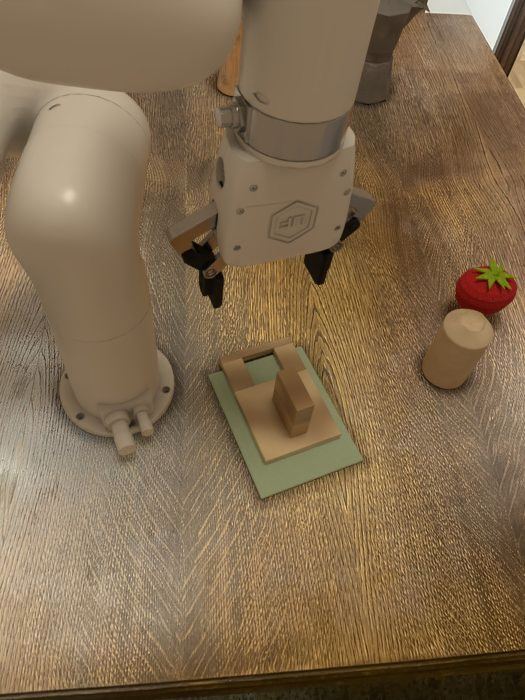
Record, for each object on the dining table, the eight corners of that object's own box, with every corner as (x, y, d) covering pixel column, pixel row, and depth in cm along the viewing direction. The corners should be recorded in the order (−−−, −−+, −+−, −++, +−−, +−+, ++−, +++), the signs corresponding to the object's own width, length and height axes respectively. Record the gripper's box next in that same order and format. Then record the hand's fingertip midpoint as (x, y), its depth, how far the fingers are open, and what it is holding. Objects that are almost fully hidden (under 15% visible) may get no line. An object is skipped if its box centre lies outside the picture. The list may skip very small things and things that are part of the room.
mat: (362, 461, 66) (363, 459, 65) (261, 500, 62) (261, 498, 62) (301, 347, 74) (301, 345, 73) (207, 376, 70) (207, 374, 70)
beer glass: (262, 84, 105) (269, -7, 92) (240, 103, 101) (244, 10, 89) (229, 70, 106) (232, -21, 94) (206, 88, 103) (205, -5, 91)
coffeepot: (396, 76, 110) (425, -32, 95) (404, 107, 104) (437, -2, 90) (312, 72, 108) (328, -38, 94) (316, 103, 103) (334, -9, 88)
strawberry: (436, 299, 80) (462, 245, 71) (490, 297, 81) (522, 243, 72) (449, 335, 76) (477, 283, 68) (505, 333, 77) (540, 281, 69)
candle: (456, 397, 71) (488, 349, 63) (414, 375, 72) (440, 325, 64) (472, 365, 74) (505, 315, 66) (431, 344, 75) (459, 292, 67)
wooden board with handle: (218, 361, 71) (219, 326, 65) (288, 340, 74) (294, 304, 68) (265, 465, 64) (270, 435, 58) (340, 438, 67) (352, 406, 61)
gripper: (181, 170, 35) (182, 339, 49) (432, 131, 40) (368, 295, 54) (148, 96, 39) (157, 273, 53) (381, 69, 44) (333, 237, 58)
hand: (264, 284), depth 54 cm, fingers open, 9 cm apart
